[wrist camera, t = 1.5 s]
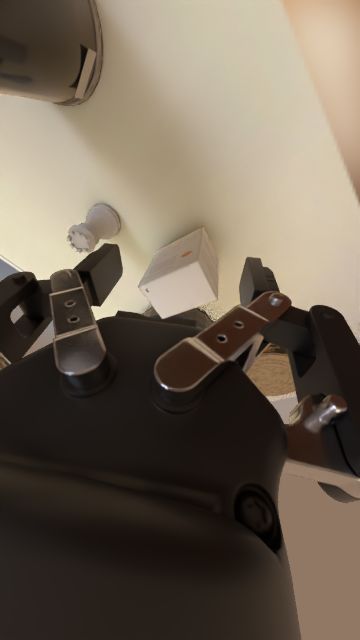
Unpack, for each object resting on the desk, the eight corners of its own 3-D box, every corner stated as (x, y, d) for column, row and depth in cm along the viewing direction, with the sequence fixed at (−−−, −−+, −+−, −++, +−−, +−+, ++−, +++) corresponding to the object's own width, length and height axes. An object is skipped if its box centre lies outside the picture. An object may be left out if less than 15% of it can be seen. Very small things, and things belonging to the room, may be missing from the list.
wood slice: (299, 335, 39) (304, 347, 37) (310, 379, 47) (314, 391, 45) (220, 352, 46) (219, 363, 43) (242, 388, 54) (243, 399, 52)
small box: (174, 278, 34) (161, 320, 27) (156, 249, 31) (135, 287, 24) (219, 259, 31) (219, 301, 23) (204, 224, 28) (197, 260, 20)
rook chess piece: (126, 232, 30) (103, 256, 24) (101, 238, 32) (74, 263, 26) (112, 199, 27) (82, 217, 22) (84, 207, 29) (50, 227, 23)
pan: (125, 313, 42) (118, 325, 39) (199, 291, 35) (197, 303, 33) (162, 360, 51) (159, 372, 48) (226, 349, 45) (226, 362, 42)
